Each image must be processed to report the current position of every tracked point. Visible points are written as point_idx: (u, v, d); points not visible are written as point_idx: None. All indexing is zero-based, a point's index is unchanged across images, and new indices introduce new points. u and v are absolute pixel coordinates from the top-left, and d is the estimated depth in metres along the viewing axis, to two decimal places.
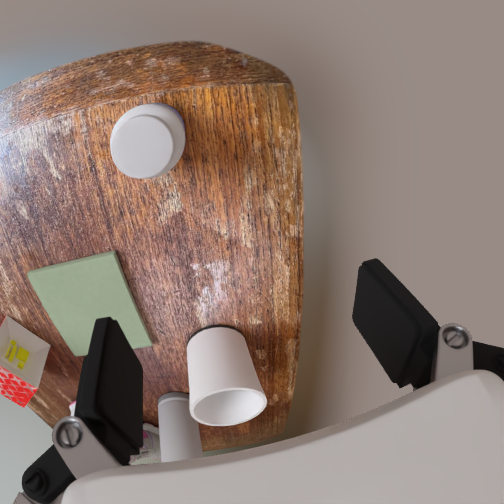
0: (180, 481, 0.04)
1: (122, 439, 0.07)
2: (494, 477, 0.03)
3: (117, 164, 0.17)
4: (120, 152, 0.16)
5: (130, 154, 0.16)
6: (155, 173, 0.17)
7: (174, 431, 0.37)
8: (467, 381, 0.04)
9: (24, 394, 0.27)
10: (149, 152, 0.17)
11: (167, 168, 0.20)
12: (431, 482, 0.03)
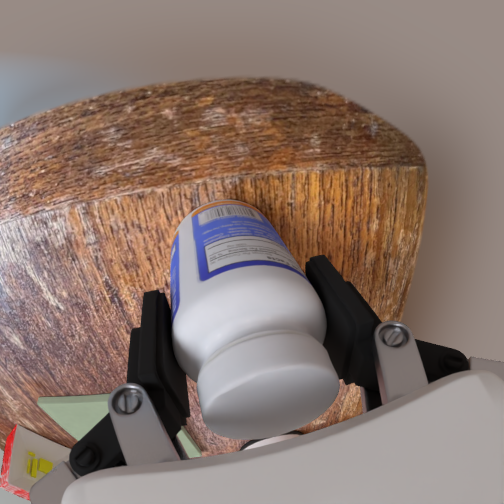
0: (180, 481, 0.04)
1: (174, 407, 0.08)
2: (494, 477, 0.03)
3: (218, 432, 0.08)
4: (226, 420, 0.07)
5: (249, 420, 0.07)
6: (292, 429, 0.08)
7: None
8: (467, 381, 0.05)
9: None
10: (289, 413, 0.08)
11: None
12: (431, 482, 0.03)
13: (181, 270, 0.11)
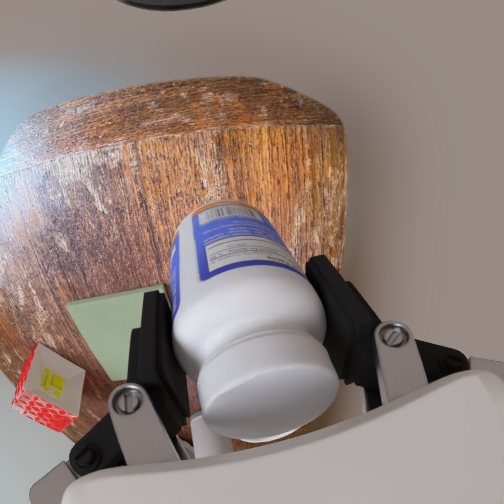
0: (180, 481, 0.04)
1: (175, 407, 0.08)
2: (494, 477, 0.03)
3: (219, 432, 0.08)
4: (227, 420, 0.07)
5: (249, 420, 0.07)
6: (292, 429, 0.09)
7: (210, 447, 0.38)
8: (467, 381, 0.04)
9: (61, 421, 0.28)
10: (288, 412, 0.08)
11: None
12: (431, 482, 0.03)
13: (181, 270, 0.11)
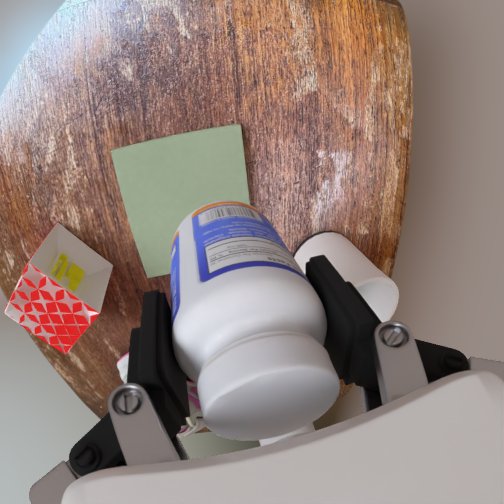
0: (180, 481, 0.04)
1: (174, 407, 0.08)
2: (494, 477, 0.03)
3: (219, 433, 0.08)
4: (227, 421, 0.07)
5: (249, 421, 0.07)
6: (293, 430, 0.08)
7: None
8: (467, 381, 0.04)
9: (73, 328, 0.24)
10: (289, 414, 0.08)
11: None
12: (431, 482, 0.03)
13: (181, 270, 0.11)
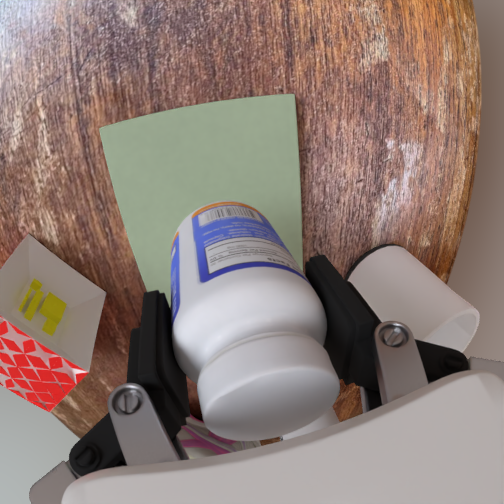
0: (180, 481, 0.04)
1: (174, 407, 0.08)
2: (494, 477, 0.03)
3: (219, 434, 0.08)
4: (227, 422, 0.07)
5: (249, 422, 0.07)
6: (293, 430, 0.08)
7: None
8: (467, 381, 0.05)
9: (54, 386, 0.15)
10: (289, 414, 0.08)
11: None
12: (431, 482, 0.03)
13: (181, 271, 0.11)
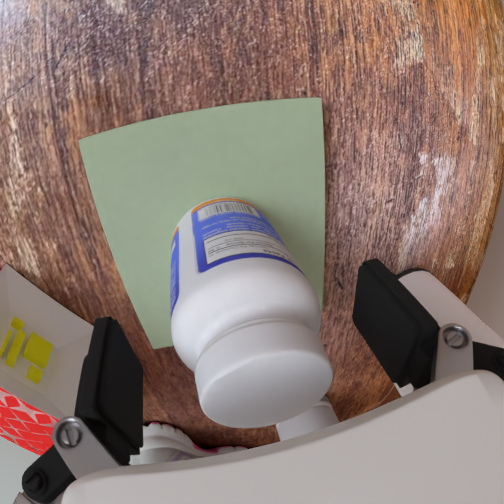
0: (180, 481, 0.04)
1: (122, 439, 0.07)
2: (494, 477, 0.03)
3: (215, 419, 0.08)
4: (223, 407, 0.08)
5: (245, 407, 0.08)
6: (288, 418, 0.09)
7: None
8: (467, 381, 0.05)
9: (45, 437, 0.12)
10: (283, 400, 0.08)
11: None
12: (431, 482, 0.03)
13: (181, 263, 0.11)
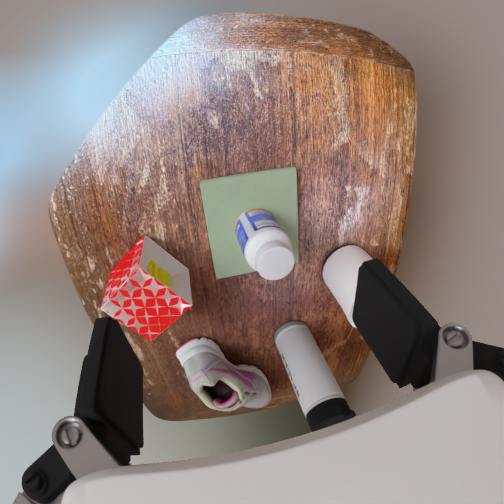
0: (180, 481, 0.04)
1: (122, 439, 0.07)
2: (494, 477, 0.03)
3: (260, 272, 0.31)
4: (263, 266, 0.31)
5: (269, 267, 0.31)
6: (282, 277, 0.32)
7: (306, 352, 0.44)
8: (467, 381, 0.05)
9: (165, 318, 0.34)
10: (280, 266, 0.31)
11: None
12: (431, 482, 0.03)
13: (246, 230, 0.34)
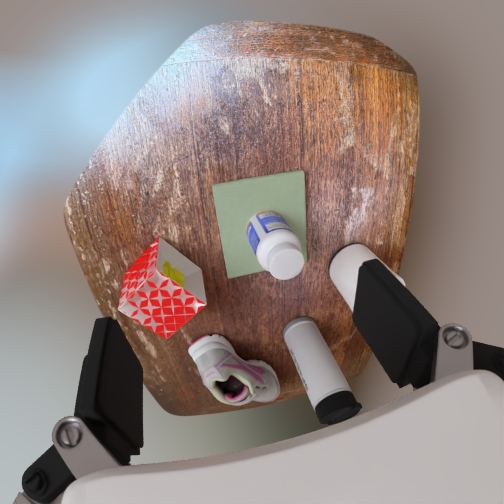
0: (180, 481, 0.04)
1: (122, 439, 0.07)
2: (494, 477, 0.03)
3: (272, 273, 0.33)
4: (275, 267, 0.32)
5: (280, 268, 0.32)
6: (292, 277, 0.33)
7: (314, 347, 0.46)
8: (467, 381, 0.05)
9: (181, 317, 0.36)
10: (291, 267, 0.33)
11: None
12: (431, 482, 0.03)
13: (257, 232, 0.36)
